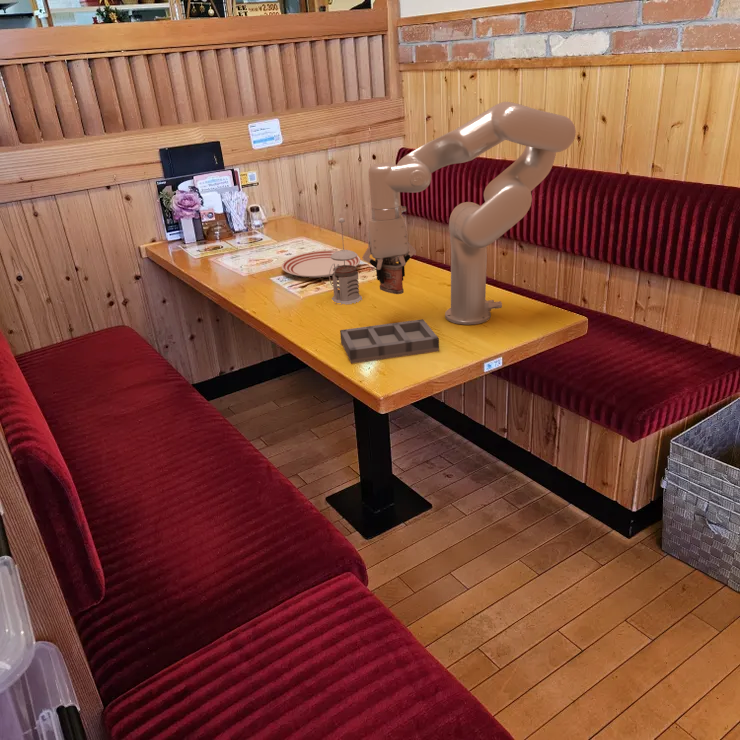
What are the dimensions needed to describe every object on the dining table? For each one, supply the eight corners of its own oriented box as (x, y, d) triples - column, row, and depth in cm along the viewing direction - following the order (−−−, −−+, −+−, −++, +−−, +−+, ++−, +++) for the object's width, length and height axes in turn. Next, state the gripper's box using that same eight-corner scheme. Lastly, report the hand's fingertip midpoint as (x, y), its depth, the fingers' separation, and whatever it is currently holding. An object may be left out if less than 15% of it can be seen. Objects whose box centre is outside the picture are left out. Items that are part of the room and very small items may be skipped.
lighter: (377, 289, 183) (374, 253, 179) (385, 285, 185) (383, 250, 181) (397, 295, 178) (395, 258, 173) (406, 291, 179) (404, 255, 175)
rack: (423, 331, 180) (423, 319, 178) (438, 351, 168) (438, 338, 167) (341, 342, 176) (340, 330, 174) (351, 363, 164) (350, 350, 163)
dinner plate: (325, 288, 217) (325, 278, 215) (265, 275, 232) (264, 266, 231) (376, 265, 236) (376, 256, 235) (318, 255, 251) (317, 246, 250)
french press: (369, 296, 207) (364, 215, 196) (346, 308, 198) (341, 224, 187) (343, 291, 212) (337, 212, 201) (320, 303, 204) (313, 221, 193)
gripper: (413, 206, 177) (417, 272, 185) (351, 214, 174) (357, 281, 182) (422, 212, 170) (425, 280, 178) (357, 220, 167) (363, 289, 175)
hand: (391, 280), depth 180 cm, fingers closed on lighter, 4 cm apart
